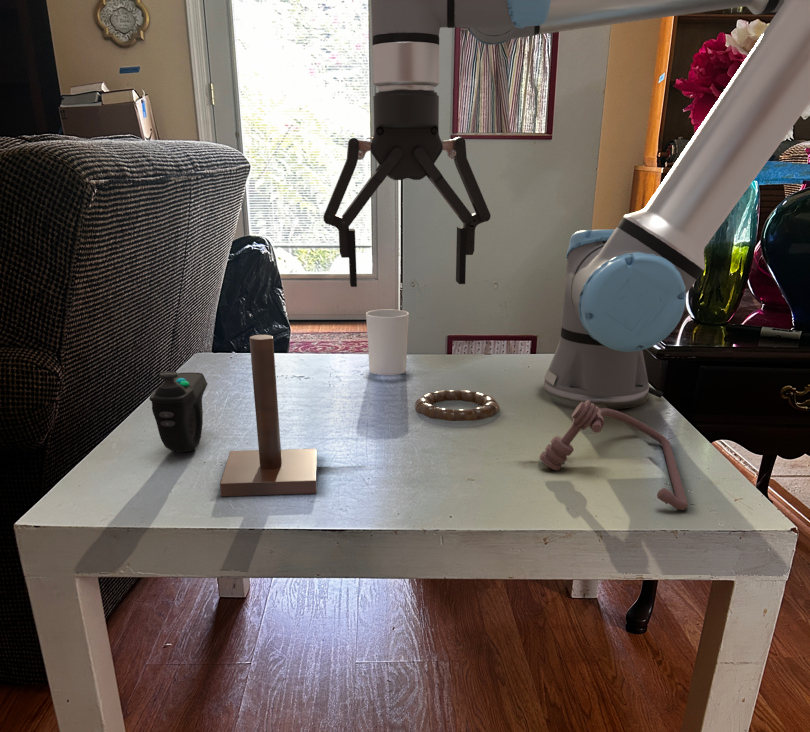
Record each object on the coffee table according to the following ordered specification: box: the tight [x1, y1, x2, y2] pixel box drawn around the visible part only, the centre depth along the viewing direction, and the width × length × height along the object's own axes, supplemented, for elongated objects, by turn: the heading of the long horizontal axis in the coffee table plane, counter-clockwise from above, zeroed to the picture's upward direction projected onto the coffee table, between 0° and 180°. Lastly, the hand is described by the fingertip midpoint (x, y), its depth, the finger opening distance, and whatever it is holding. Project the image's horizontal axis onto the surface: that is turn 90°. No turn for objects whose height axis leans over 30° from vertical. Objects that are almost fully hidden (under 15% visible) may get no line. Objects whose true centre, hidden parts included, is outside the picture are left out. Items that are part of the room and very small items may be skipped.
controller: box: [149, 370, 208, 452], centre depth 94 cm, size 4×12×10 cm, turn 179°
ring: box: [414, 389, 501, 422], centre depth 107 cm, size 11×11×2 cm
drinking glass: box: [365, 308, 410, 376], centre depth 124 cm, size 7×7×10 cm
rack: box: [219, 334, 318, 497], centre depth 84 cm, size 10×10×16 cm
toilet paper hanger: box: [539, 400, 689, 511], centre depth 89 cm, size 22×8×14 cm
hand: (407, 284), depth 99 cm, fingers open, 13 cm apart
